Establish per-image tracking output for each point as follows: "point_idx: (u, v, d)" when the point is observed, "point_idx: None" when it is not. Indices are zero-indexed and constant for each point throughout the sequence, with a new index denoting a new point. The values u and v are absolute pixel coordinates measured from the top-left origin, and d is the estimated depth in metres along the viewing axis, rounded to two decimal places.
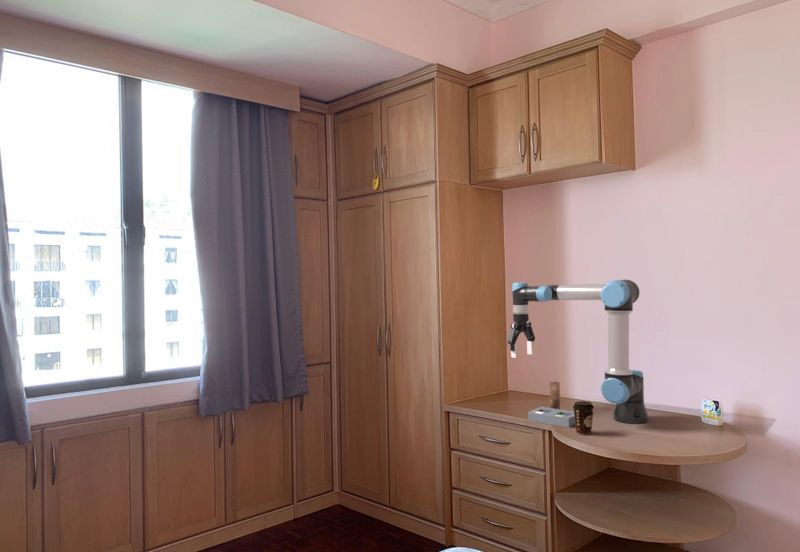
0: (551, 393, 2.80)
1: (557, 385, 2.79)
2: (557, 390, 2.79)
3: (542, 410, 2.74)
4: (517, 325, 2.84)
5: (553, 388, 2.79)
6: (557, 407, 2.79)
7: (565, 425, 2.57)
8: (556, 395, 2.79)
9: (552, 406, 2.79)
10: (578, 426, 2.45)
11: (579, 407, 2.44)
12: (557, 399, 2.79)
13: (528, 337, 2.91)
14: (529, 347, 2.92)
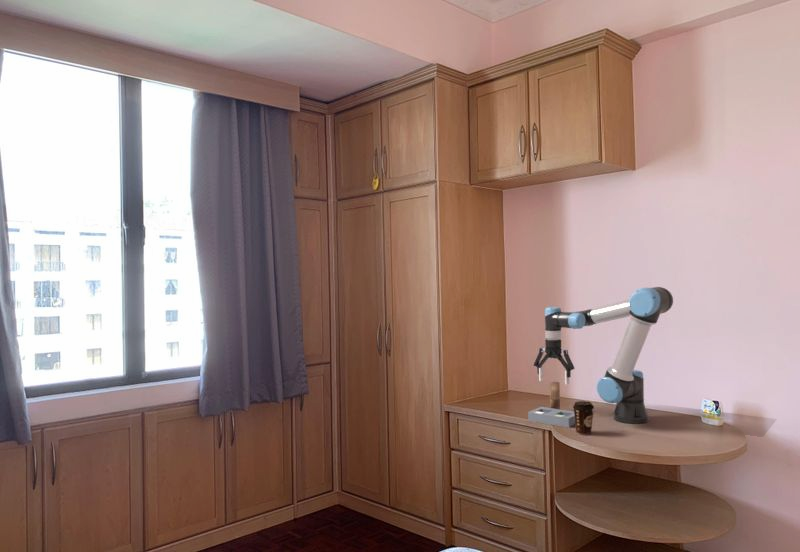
0: (551, 393, 2.80)
1: (557, 385, 2.79)
2: (557, 390, 2.79)
3: (542, 410, 2.74)
4: (545, 350, 2.83)
5: (553, 388, 2.79)
6: (557, 407, 2.79)
7: (565, 425, 2.57)
8: (556, 395, 2.79)
9: (552, 406, 2.79)
10: (578, 426, 2.45)
11: (579, 407, 2.44)
12: (557, 399, 2.79)
13: None
14: None
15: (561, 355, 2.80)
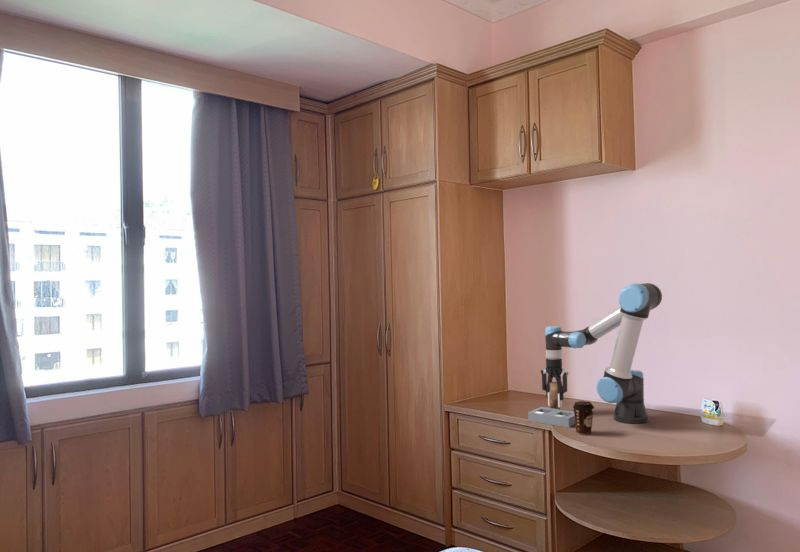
0: (551, 393, 2.80)
1: (557, 385, 2.79)
2: (557, 390, 2.79)
3: (542, 410, 2.74)
4: (545, 370, 2.83)
5: (553, 388, 2.79)
6: (557, 407, 2.79)
7: (565, 425, 2.57)
8: (556, 395, 2.79)
9: (552, 406, 2.79)
10: (578, 426, 2.45)
11: (579, 407, 2.44)
12: (557, 399, 2.79)
13: None
14: None
15: (560, 376, 2.80)
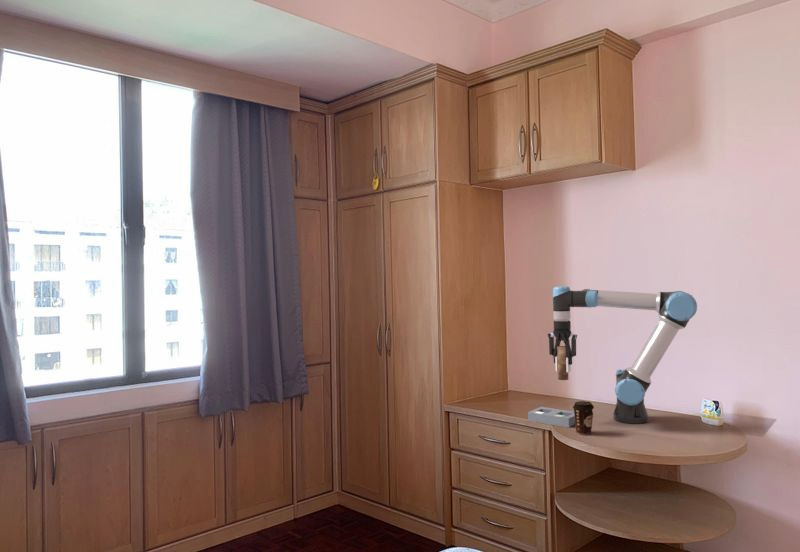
0: (559, 357, 2.63)
1: (565, 349, 2.62)
2: (565, 354, 2.62)
3: (542, 410, 2.74)
4: (553, 333, 2.66)
5: (561, 352, 2.62)
6: (565, 372, 2.62)
7: (565, 425, 2.57)
8: (564, 360, 2.62)
9: (560, 371, 2.62)
10: (578, 426, 2.45)
11: (579, 407, 2.44)
12: (565, 364, 2.62)
13: None
14: None
15: (568, 339, 2.63)
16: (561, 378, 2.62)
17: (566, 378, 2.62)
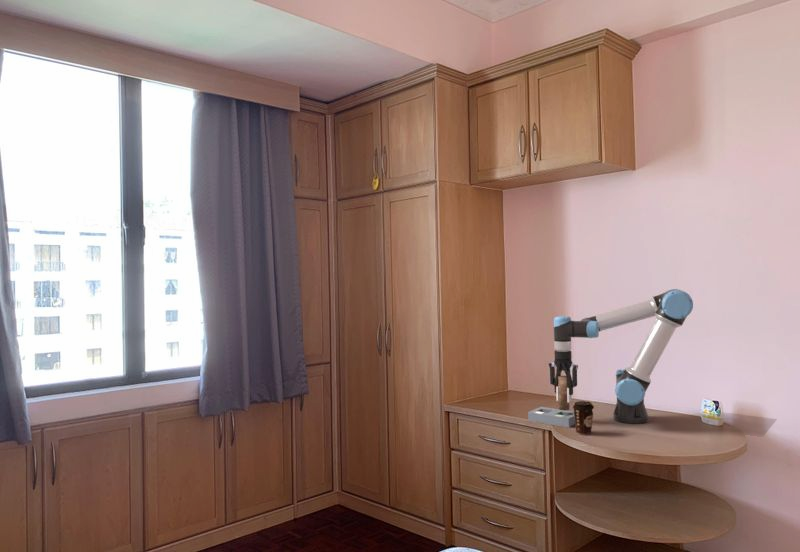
0: (560, 387, 2.63)
1: (566, 379, 2.62)
2: (566, 384, 2.62)
3: (542, 410, 2.74)
4: (554, 363, 2.66)
5: (562, 383, 2.62)
6: (566, 402, 2.62)
7: (565, 425, 2.57)
8: (565, 390, 2.62)
9: (561, 401, 2.62)
10: (578, 426, 2.45)
11: (579, 407, 2.44)
12: (566, 394, 2.62)
13: None
14: None
15: (569, 369, 2.63)
16: (562, 408, 2.62)
17: (567, 408, 2.62)
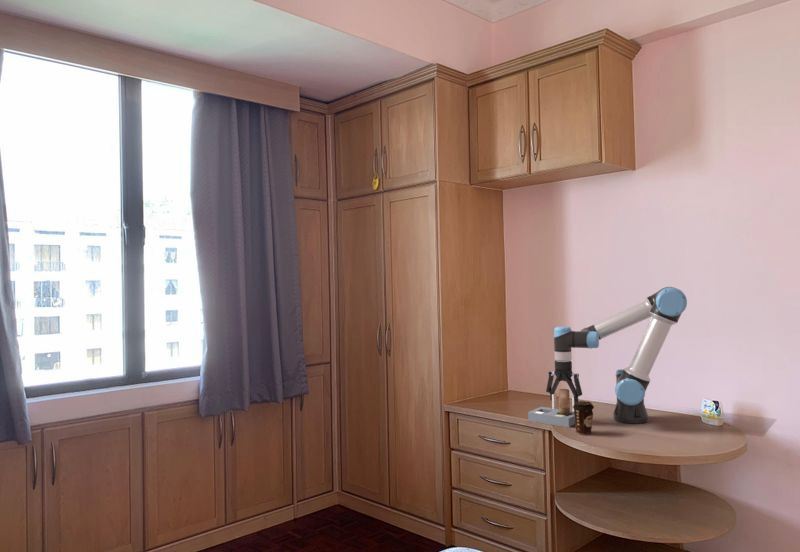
0: (560, 401, 2.63)
1: (567, 392, 2.62)
2: (567, 398, 2.62)
3: (542, 410, 2.74)
4: (554, 372, 2.66)
5: (563, 396, 2.62)
6: None
7: (565, 425, 2.57)
8: (566, 403, 2.62)
9: None
10: (578, 426, 2.45)
11: (579, 407, 2.44)
12: (567, 407, 2.62)
13: None
14: None
15: None
16: None
17: None
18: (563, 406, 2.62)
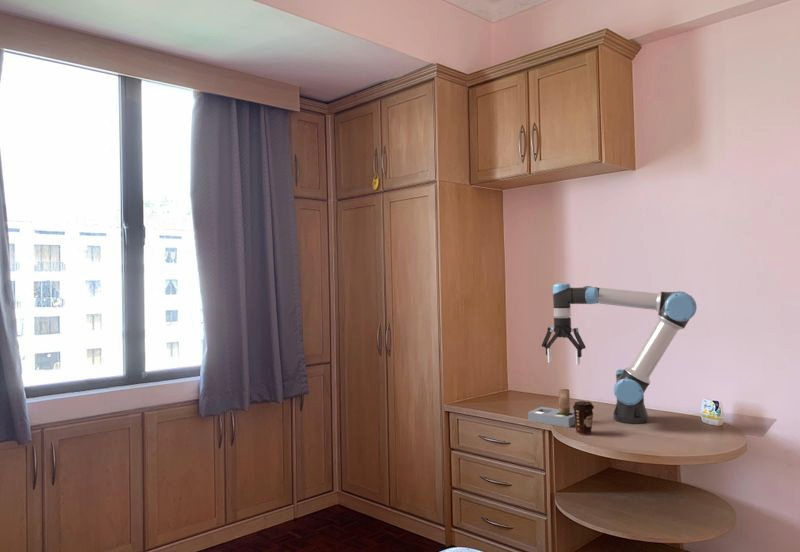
0: (560, 401, 2.63)
1: (567, 392, 2.62)
2: (567, 398, 2.62)
3: (542, 410, 2.74)
4: (553, 329, 2.67)
5: (563, 396, 2.62)
6: None
7: (565, 425, 2.57)
8: (566, 403, 2.62)
9: None
10: (578, 426, 2.45)
11: (579, 407, 2.44)
12: (567, 407, 2.62)
13: None
14: None
15: None
16: None
17: None
18: (563, 406, 2.62)
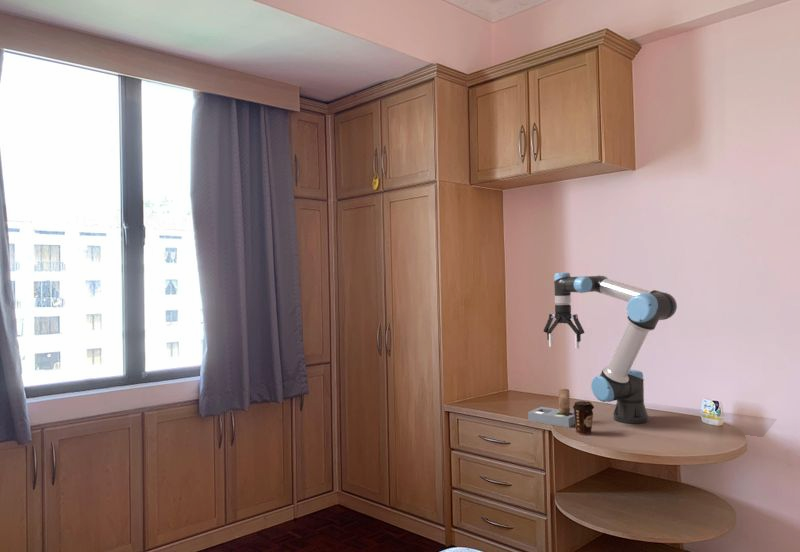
0: (560, 401, 2.63)
1: (567, 392, 2.62)
2: (567, 398, 2.62)
3: (542, 410, 2.74)
4: (554, 315, 2.85)
5: (563, 396, 2.62)
6: None
7: (565, 425, 2.57)
8: (566, 403, 2.62)
9: None
10: (578, 426, 2.45)
11: (579, 407, 2.44)
12: (567, 407, 2.62)
13: None
14: None
15: None
16: None
17: None
18: (563, 406, 2.62)
